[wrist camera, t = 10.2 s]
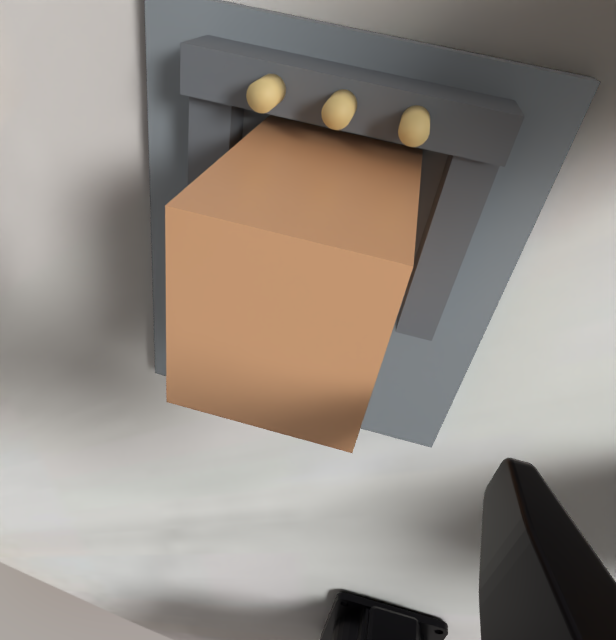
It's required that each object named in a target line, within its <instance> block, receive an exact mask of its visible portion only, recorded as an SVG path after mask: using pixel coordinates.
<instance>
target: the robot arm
mask: <svg viewBox="0 0 616 640" xmlns="http://www.w3.org/2000/svg"><path fill="white" fill-rule="evenodd" d="M479 609H480V626H481V640H616V582H615V581H614V579H613V578H612V576H611V575H610V573H609V572H608V571H607V569H606V568H605V566H604V565H603V563H602V562H601V561H600V559H599V558H598V556H597V555H596V553H595V552H594V551H593V549H592V548H591V546H590V545H589V543H588V542H587V541H586V539H585V538H584V536H583V535H582V533H581V532H580V531H579V529H578V528H577V526H576V525H575V523H574V522H573V521H572V519H571V518H570V516H569V515H568V513H567V512H566V511H565V509H564V508H563V506H562V505H561V503H560V502H559V501H558V499H557V498H556V496H555V495H554V493H553V492H552V491H551V489H550V488H549V486H548V485H547V483H546V482H545V481H544V479H543V478H542V476H541V475H540V473H539V472H538V471H537V469H536V468H535V467H534V466H533V465H532V464H530V463H528V462H524V461H520V460H516V459H513V458H506V459H505V460H503V462H502V463H501V464H500V466H499V468H498V469H497V471H496V473H495V474H494V476H493V478H492V479H491V481H490V483H489V484H488V486H487V488H486V490H485V494H484V500H483V517H482V536H481V555H480V573H479ZM447 635H448V625H447V623H445V622H443V621H441V620H437V619H434V618H431V617H427V616H424V615H420V614H417V613H414V612H410V611H407V610H403V609H400V608H397V607H393V606H390V605H387V604H383V603H380V602H376V601H373V600H370V599H366V598H363V597H360V596H356V595H353V594H349V593H345V592H341V593H338V594H337V597H336V599H335V602H334V604H333V607H332V609H331V612H330V614H329V617H328V619H327V622H326V624H325V627H324V629H323V632H322V634H321V639H320V640H444V639H445V637H446V636H447Z"/></svg>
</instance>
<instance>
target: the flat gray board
mask: <svg viewBox="0 0 616 640" xmlns="http://www.w3.org/2000/svg"><path fill="white" fill-rule="evenodd" d="M145 34H146V68H147V103H148V138H149V172H150V207H151V242H152V276H153V311H154V345H155V373H157V374H161V375H164V376H166V250H165V205H166V204H167V203H169V202H170V201H171V200H172V199H173V198H174V197H176V196H177V195H178V194H179V193H180V192H181V191H183V190H184V189H185V188H186V187H187V186H188V185H189V184H191V183H192V182H193V181H194V180H195V179H196V178H198V177H199V176H200V175H201V174H202V173H203V172H205V171H206V170H207V169H208V168H209V167H210V166H211V165H213V164H214V163H215V162H216V161H217V160H218V159H220V158H221V157H222V156H223V155H224V154H225V153H227V152H228V151H229V150H230V149H231V148H232V147H233V146H235V145H236V144H237V143H238V142H239V141H240V140H242V139H243V138H244V137H245V136H246V135H247V134H249V133H250V132H251V131H252V130H253V129H254V128H255V127H257V126H258V125H259V124H260V123H261V122H262V121H264V120H265V119H266V118H267V117H268V116H269V115H272V116H276V117H281V118H285V119H289V120H294V121H298V122H303V123H307V124H311V125H316V126H320V127H325V128H329V129H333V130H338V131H342V132H347V133H351V134H355V135H360V136H364V137H369V138H373V139H377V140H382V141H386V142H390V143H395V144H399V145H404V146H408V147H412V148H417V149H421V150H423V154H422V166H421V179H420V191H419V204H418V216H417V229H416V241H415V254H414V266H413V269H412V272H411V275H410V279H409V282H408V285H407V288H406V292H405V295H404V298H403V301H402V304H401V307H400V310H399V313H398V316H397V319H396V322H395V325H394V328H393V331H392V334H391V337H390V340H389V343H388V346H387V349H386V352H385V355H384V359H383V362H382V365H381V368H380V371H379V374H378V377H377V380H376V383H375V386H374V389H373V392H372V395H371V398H370V401H369V404H368V407H367V410H366V413H365V416H364V419H363V421H362V425H361V429H365V430H368V431H372V432H376V433H379V434H383V435H387V436H391V437H394V438H398V439H402V440H405V441H409V442H413V443H417V444H420V445H424V446H428V447H432V445H433V443H434V441H435V439H436V437H437V434H438V432H439V430H440V428H441V426H442V424H443V421H444V419H445V417H446V415H447V413H448V411H449V408H450V406H451V404H452V402H453V400H454V398H455V395H456V393H457V391H458V389H459V387H460V385H461V383H462V380H463V378H464V376H465V374H466V372H467V370H468V367H469V365H470V363H471V361H472V359H473V357H474V354H475V352H476V350H477V348H478V346H479V344H480V341H481V339H482V337H483V335H484V333H485V331H486V328H487V326H488V324H489V322H490V320H491V318H492V315H493V313H494V311H495V309H496V307H497V305H498V302H499V300H500V298H501V296H502V294H503V292H504V290H505V287H506V285H507V283H508V281H509V279H510V277H511V274H512V272H513V270H514V268H515V266H516V264H517V261H518V259H519V257H520V255H521V253H522V251H523V248H524V246H525V244H526V242H527V240H528V238H529V235H530V233H531V231H532V229H533V227H534V225H535V222H536V220H537V218H538V216H539V214H540V212H541V209H542V207H543V205H544V203H545V201H546V199H547V197H548V194H549V192H550V190H551V188H552V186H553V184H554V181H555V179H556V177H557V175H558V173H559V171H560V168H561V166H562V164H563V162H564V160H565V158H566V155H567V153H568V151H569V149H570V147H571V145H572V142H573V140H574V138H575V136H576V134H577V132H578V129H579V127H580V125H581V123H582V121H583V119H584V117H585V114H586V112H587V110H588V108H589V106H590V104H591V101H592V99H593V97H594V95H595V93H596V91H597V88H598V86H599V84H600V81H598V80H597V79H595V78H592V77H588V76H583V75H578V74H573V73H568V72H564V71H559V70H554V69H549V68H544V67H539V66H535V65H530V64H525V63H520V62H515V61H511V60H506V59H501V58H496V57H491V56H486V55H482V54H477V53H472V52H467V51H462V50H458V49H453V48H448V47H443V46H438V45H434V44H429V43H424V42H419V41H414V40H409V39H405V38H400V37H395V36H390V35H385V34H381V33H376V32H371V31H366V30H361V29H356V28H352V27H347V26H342V25H337V24H332V23H328V22H323V21H318V20H313V19H308V18H304V17H299V16H294V15H289V14H284V13H279V12H275V11H270V10H265V9H260V8H255V7H251V6H246V5H241V4H236V3H231V2H226V1H222V0H145Z"/></svg>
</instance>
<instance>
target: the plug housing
mask: <svg viewBox="0 0 616 640" xmlns="http://www.w3.org/2000/svg"><path fill="white" fill-rule="evenodd" d="M422 154H423V150H421V149H417V148H412V147H408V146H404V145H399V144H395V143H390V142H386V141H382V140H377V139H373V138H369V137H364V136H360V135H355V134H351V133H347V132H342V131H338V130H333V129H329V128H325V127H320V126H316V125H311V124H307V123H303V122H298V121H294V120H289V119H285V118H281V117H276V116H272V115H269V116H268V117H267V118H266V119H265V120H264V121H262V122H261V123H260V124H259V125H258V126H257V127H255V128H254V129H253V130H252V131H251V132H250V133H249V134H247V135H246V136H245V137H244V138H243V139H242V140H240V141H239V142H238V143H237V144H236V145H235V146H233V147H232V148H231V149H230V150H229V151H228V152H227V153H225V154H224V155H223V156H222V157H221V158H220V159H218V160H217V161H216V162H215V163H214V164H213V165H211V166H210V167H209V168H208V169H207V170H206V171H205V172H203V173H202V174H201V175H200V176H199V177H198V178H196V179H195V180H194V181H193V182H192V183H191V184H189V185H188V186H187V187H186V188H185V189H184V190H183V191H181V192H180V193H179V194H178V195H177V196H176V197H174V198H173V199H172V200H171V201H170V202H169V203H167V204H166V205H165V250H166V390H167V402H169V403H173V404H176V405H180V406H183V407H187V408H191V409H194V410H198V411H201V412H205V413H209V414H212V415H216V416H220V417H223V418H227V419H230V420H234V421H238V422H241V423H245V424H249V425H252V426H256V427H259V428H263V429H267V430H270V431H274V432H278V433H281V434H285V435H288V436H292V437H296V438H299V439H303V440H307V441H310V442H314V443H317V444H321V445H325V446H328V447H332V448H336V449H339V450H343V451H346V452H350V453H352V452H353V449H354V446H355V443H356V440H357V437H358V434H359V431H360V428H361V425H362V421H363V419H364V416H365V413H366V410H367V407H368V404H369V401H370V398H371V395H372V392H373V389H374V386H375V383H376V380H377V377H378V374H379V371H380V368H381V365H382V362H383V359H384V355H385V352H386V349H387V346H388V343H389V340H390V337H391V334H392V331H393V328H394V325H395V322H396V319H397V316H398V313H399V310H400V307H401V304H402V301H403V298H404V295H405V292H406V288H407V285H408V282H409V279H410V275H411V272H412V269H413V266H414V254H415V241H416V229H417V216H418V204H419V191H420V179H421V166H422Z"/></svg>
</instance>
